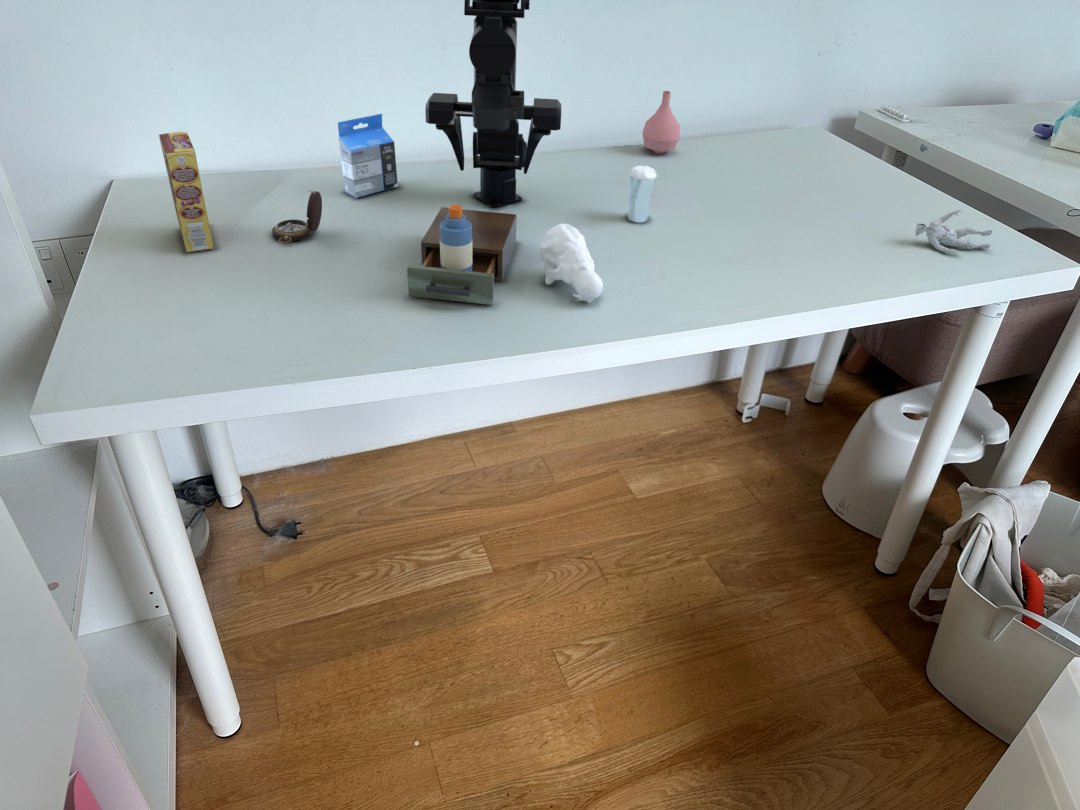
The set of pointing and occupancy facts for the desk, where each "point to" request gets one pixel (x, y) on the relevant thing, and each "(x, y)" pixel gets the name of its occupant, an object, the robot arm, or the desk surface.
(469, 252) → the glue bottle
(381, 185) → the label tape box
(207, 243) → the candy box
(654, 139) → the pink vase
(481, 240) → the drawer unit
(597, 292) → the white animal figurine
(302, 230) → the compass
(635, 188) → the milkshake
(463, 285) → the drawer
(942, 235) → the soldier figure
